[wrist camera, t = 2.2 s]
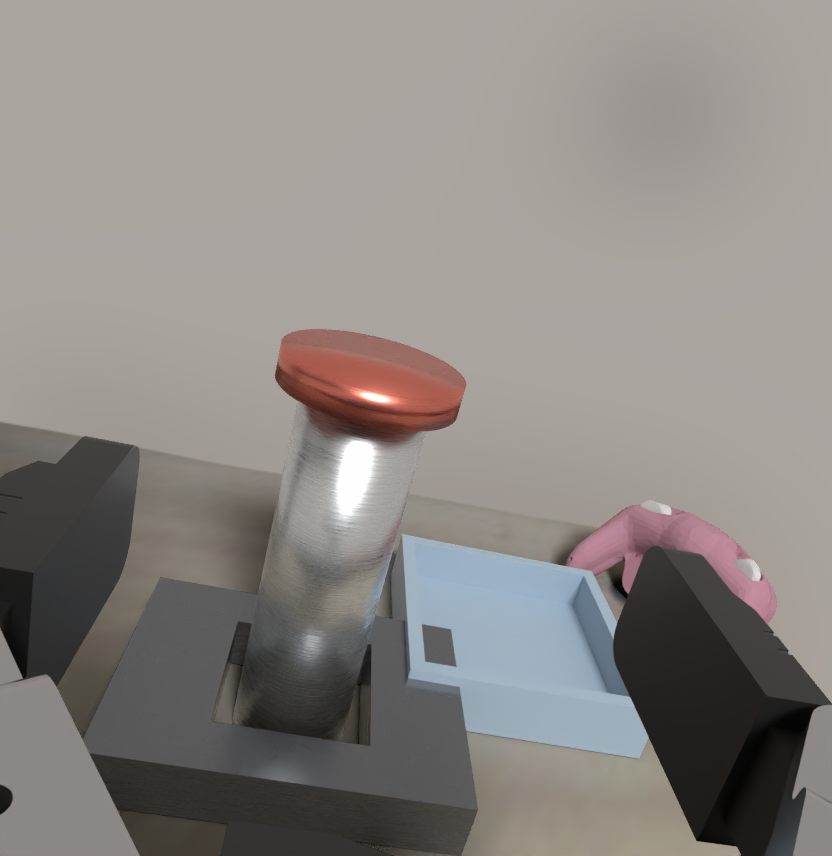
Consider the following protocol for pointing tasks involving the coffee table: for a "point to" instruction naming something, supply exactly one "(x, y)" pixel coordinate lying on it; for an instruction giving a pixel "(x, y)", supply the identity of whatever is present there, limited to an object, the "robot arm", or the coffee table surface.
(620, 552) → the video game controller
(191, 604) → the hitch bracket
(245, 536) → the coffee table surface
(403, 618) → the tray
